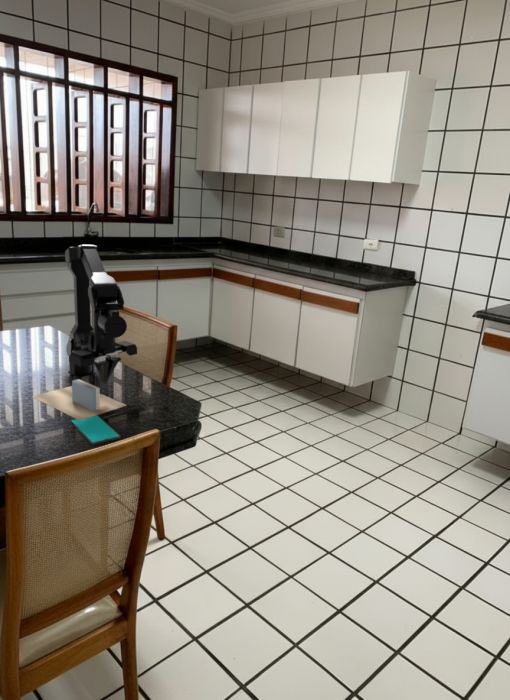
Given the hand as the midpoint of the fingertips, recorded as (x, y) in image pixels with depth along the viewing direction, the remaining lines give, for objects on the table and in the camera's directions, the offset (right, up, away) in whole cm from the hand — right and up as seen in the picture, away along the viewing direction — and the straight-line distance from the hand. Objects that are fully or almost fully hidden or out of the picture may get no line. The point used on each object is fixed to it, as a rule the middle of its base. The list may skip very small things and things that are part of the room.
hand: (104, 382), depth 148 cm
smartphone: (+2, -11, -16) cm, 19 cm away
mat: (-7, -5, -1) cm, 9 cm away
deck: (-4, -6, -3) cm, 8 cm away
